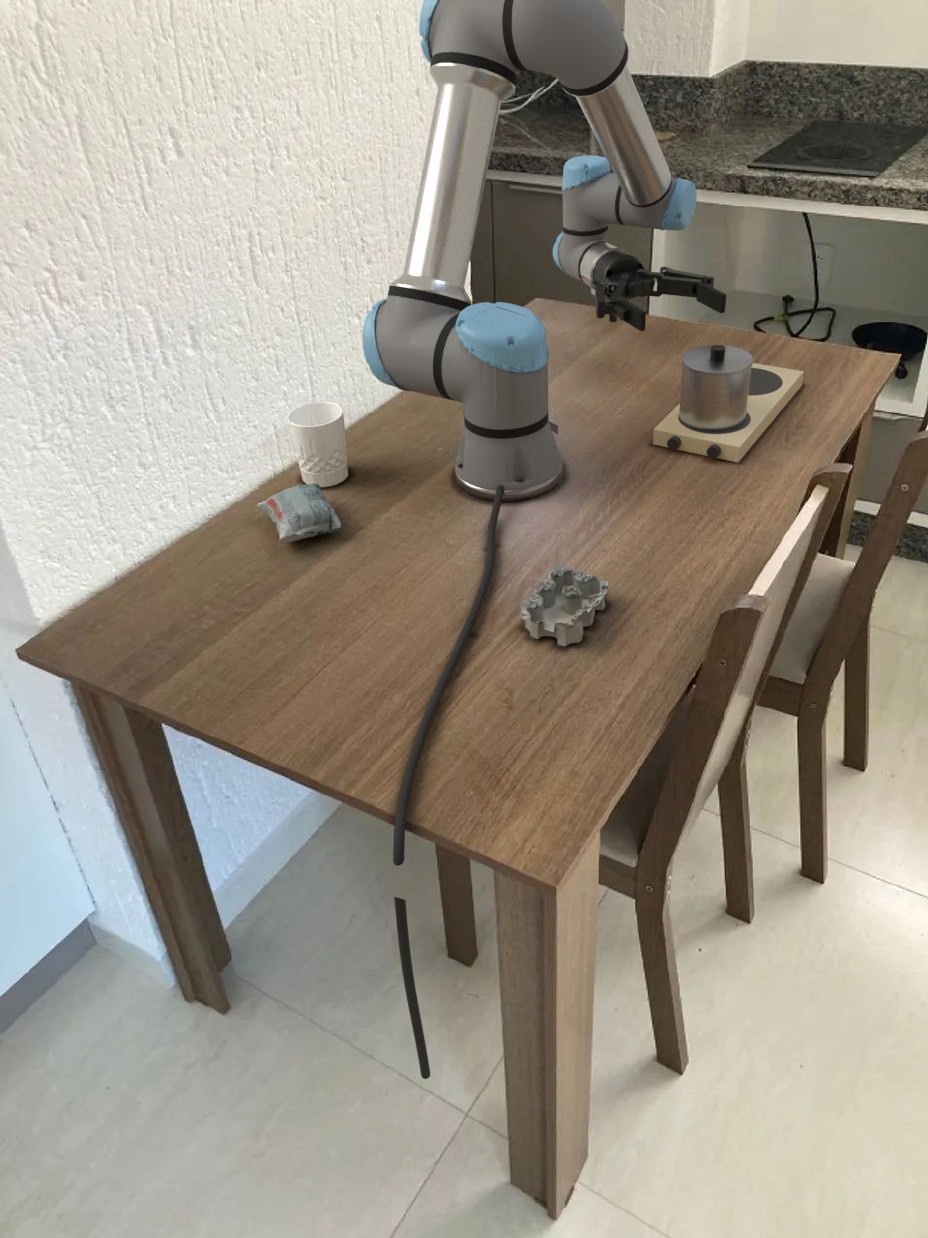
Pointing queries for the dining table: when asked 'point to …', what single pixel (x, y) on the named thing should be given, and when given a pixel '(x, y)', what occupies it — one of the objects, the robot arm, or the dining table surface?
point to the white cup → (319, 442)
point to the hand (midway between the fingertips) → (684, 312)
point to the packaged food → (300, 513)
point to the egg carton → (563, 604)
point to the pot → (715, 387)
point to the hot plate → (764, 404)
